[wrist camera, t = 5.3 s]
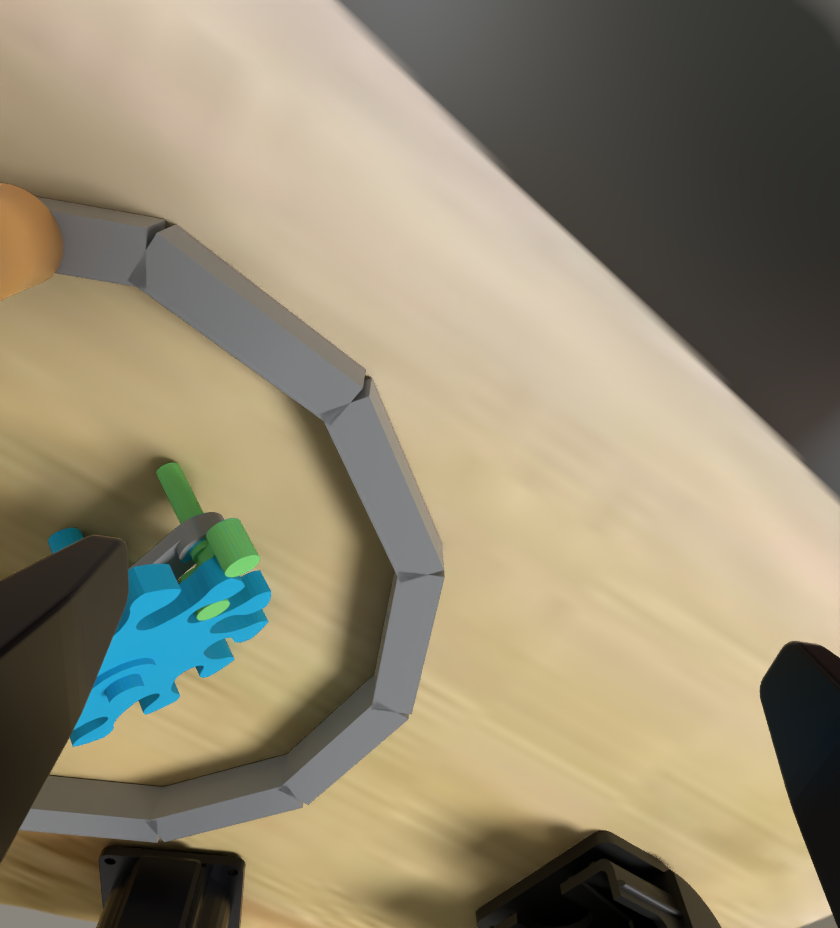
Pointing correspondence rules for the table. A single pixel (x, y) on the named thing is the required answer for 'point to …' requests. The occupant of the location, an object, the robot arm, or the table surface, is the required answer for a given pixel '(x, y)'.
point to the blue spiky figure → (175, 610)
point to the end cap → (599, 892)
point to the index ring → (361, 449)
